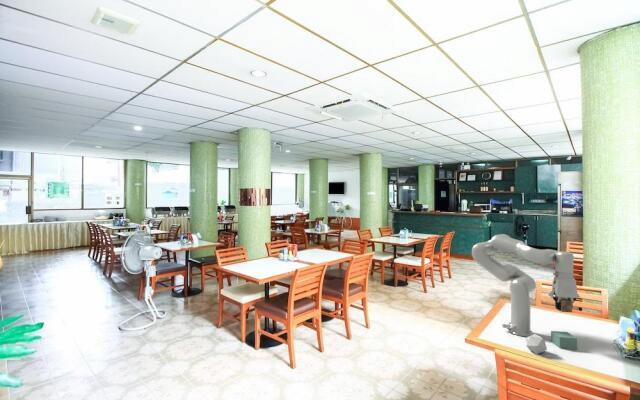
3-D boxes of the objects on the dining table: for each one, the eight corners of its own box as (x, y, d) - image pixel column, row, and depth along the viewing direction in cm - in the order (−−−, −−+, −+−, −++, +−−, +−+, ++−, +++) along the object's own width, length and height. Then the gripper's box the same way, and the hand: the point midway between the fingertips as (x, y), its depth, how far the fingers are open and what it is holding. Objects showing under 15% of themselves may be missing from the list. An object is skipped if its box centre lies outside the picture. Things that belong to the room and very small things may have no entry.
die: (531, 347, 166) (520, 332, 165) (549, 343, 161) (538, 327, 160) (533, 359, 158) (521, 344, 158) (552, 356, 154) (540, 339, 153)
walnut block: (561, 311, 164) (562, 300, 164) (555, 308, 169) (555, 297, 169) (572, 312, 164) (572, 300, 164) (565, 309, 169) (565, 297, 169)
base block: (559, 348, 163) (559, 337, 163) (551, 341, 171) (551, 330, 171) (577, 350, 162) (577, 338, 162) (567, 343, 170) (567, 332, 170)
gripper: (551, 276, 164) (551, 311, 164) (586, 277, 162) (586, 312, 162) (542, 273, 171) (542, 306, 171) (576, 274, 170) (576, 307, 170)
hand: (563, 309), depth 167 cm, fingers closed on walnut block, 5 cm apart
